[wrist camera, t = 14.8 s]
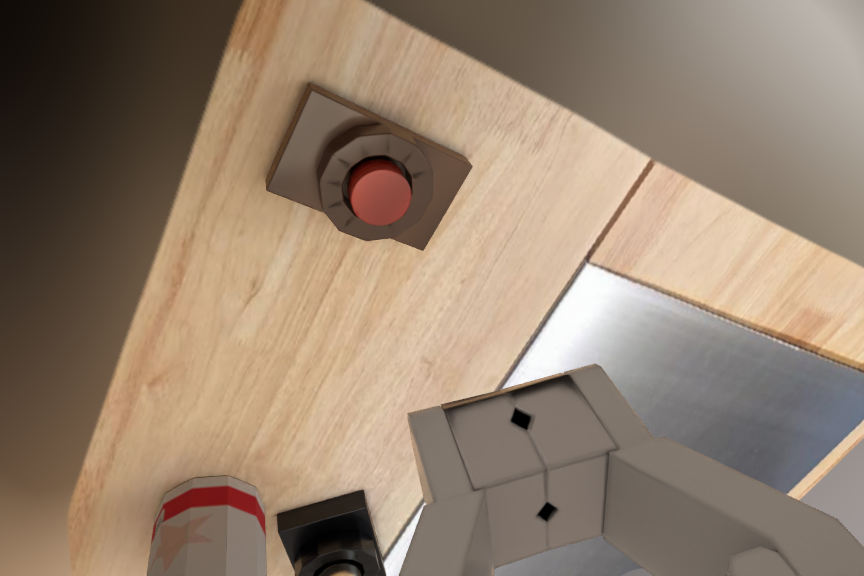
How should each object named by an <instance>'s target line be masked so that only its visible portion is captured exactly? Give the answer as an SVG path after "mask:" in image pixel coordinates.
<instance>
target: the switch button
mask: <svg viewBox="0 0 864 576" xmlns="http://www.w3.org/2000/svg"><path fill="white" fill-rule="evenodd" d="M315 576H362V575H361V569H360V565H359V563H358V562H357V561H355V560H353V559H340V560H336V561H333V562H329V563H326V564H324V565H323V566H321V567H320V568H319V569H318V570H317V571H316V574H315Z"/></svg>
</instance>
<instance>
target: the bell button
mask: <svg viewBox="0 0 864 576" xmlns="http://www.w3.org/2000/svg"><path fill="white" fill-rule="evenodd" d="M347 192H348V196H349V199H350V202H351V205H352V208H353V211H354V212H355V214H356V215H357V216H358V217H359V218H360V219H361V220H362V221H364V222H366V223H368V224H371V225H377V226H381V225H388V224H391V223H393V222H395V221H397V220H398V219H400V218H401V217H402V216H403V215H404V214H405V213H406V211H407V209H408V207H409V205H410V202H411V189H410V186H409V183H408V182H407V180H406V178H405V176H404V174H403V172H402V171H401V169H400V168H399V167H398V166H397V165H395V164H394V163H392V162H390V161H387V160H383V159H374V160H369V161H366V162H364V163H362V164H361V165H359V166H358V167H357V168H356V169H355V170H354V171H353V172H352V174H351V176H350V178H349V180H348V185H347Z"/></svg>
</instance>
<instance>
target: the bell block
mask: <svg viewBox="0 0 864 576" xmlns="http://www.w3.org/2000/svg"><path fill="white" fill-rule="evenodd" d="M374 159H383V160H387V161H390V162H392V163H394V164H395V165H397V166H398V167H399V168H400V169H401V171H402V172H403V174H404V176H405V178H406V180H407V182H408V183H409V186H410V189H411V202H410V205H409V207H408V209H407V211H406V213H405V214H404V215H403V216H402V217H401V218H400V219H398V220H397V221H395V222H393V223H391V224H388V225H381V226H377V225H371V224H368V223H366V222H364V221H362V220H361V219H360V218H359V217H358V216H357V215H356V214H355V212H354V211H353V208H352V205H351V202H350V199H349V196H348V192H347V185H348V180H349V178H350V176H351V174H352V172H353V171H354V170H355V169H356V168H357V167H358V166H359V165H361V164H362V163H364V162H366V161H369V160H374ZM471 168H472V165H471V163H470V162H469V161H468V160H467V158H466V157H464V156H462V155H460V154H458V153H455V152H453V151H451V150H449V149H447V148H445V147H443V146H441V145H439V144H437V143H435V142H433V141H431V140H428V139H426V138H424V137H422V136H420V135H418V134H416V133H414V132H412V131H410V130H408V129H406V128H404V127H401V126H399V125H397V124H395V123H393V122H391V121H389V120H387V119H385V118H383V117H381V116H379V115H376V114H374V113H372V112H370V111H368V110H366V109H364V108H362V107H360V106H358V105H356V104H354V103H352V102H349V101H347V100H345V99H343V98H341V97H339V96H337V95H335V94H333V93H331V92H329V91H327V90H325V89H322V88H320V87H318V86H316V85H314V84H312V83H309V84H308V86H307V88H306V91H305V93H304V95H303V97H302V100H301V102H300V104H299V106H298V109H297V111H296V113H295V115H294V117H293V120H292V122H291V124H290V126H289V129H288V131H287V133H286V135H285V138H284V140H283V142H282V144H281V147H280V149H279V151H278V153H277V156H276V158H275V160H274V162H273V165H272V167H271V169H270V171H269V174H268V176H267V178H266V190H267V191H269V192H272V193H274V194H277V195H279V196H282V197H285V198H287V199H290V200H292V201H295V202H298V203H300V204H303V205H305V206H308V207H311V208H313V209H316V210H318V211H321V212H324V213H325V214H326V215H327V216H328V218H329V219H330V220H331V221H332V222H333V224H334V225H335V226H336V227H337V229H338V230H339V231H341V232H344V233H346V234H349V235H352V236H354V237H357V238H360V239H362V240H365V241H372V240H380V239H388V238H391V239H394V240H396V241H399V242H402V243H404V244H407V245H409V246H412V247H415V248H417V249H420V250H422V251H423V250H424V249H425V247H426V245H427V244H428V242H429V240H430V239H431V237H432V235H433V233H434V232H435V230H436V228H437V227H438V225H439V223H440V222H441V220H442V218H443V216H444V215H445V213H446V211H447V210H448V208H449V206H450V204H451V203H452V201H453V199H454V198H455V196H456V194H457V192H458V191H459V189H460V187H461V186H462V184H463V182H464V180H465V179H466V177H467V175H468V174H469V172H470V170H471Z"/></svg>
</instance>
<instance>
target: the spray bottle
mask: <svg viewBox="0 0 864 576" xmlns="http://www.w3.org/2000/svg"><path fill="white" fill-rule="evenodd" d="M147 576H267V564H266V533H265V506H264V504H263V502H262V500H261V498H260V495H259V493H258V491H257V489H256V487H254V486H252V485H250V484H247V483H245V482H242V481H240V480H238V479H235V478H233V477H230V476H217V477H202V478H193V479H191V480H189V481H187V482H185V483H183V484H182V485H180V486H178V487H176V488H174V489H172V490H171V491H169V492H167V493H165V494H164V497H163V499H162V501H161V503H160V506H159V508H158V510H157V512H156V515H155V520H154V527H153V534H152V541H151V548H150V555H149V562H148V570H147Z"/></svg>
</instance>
